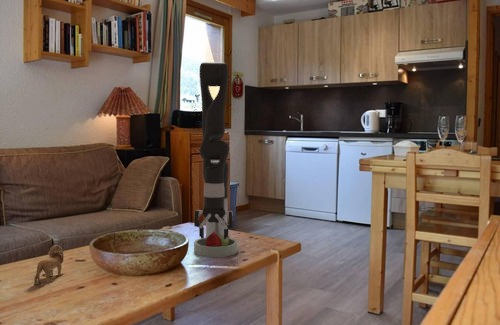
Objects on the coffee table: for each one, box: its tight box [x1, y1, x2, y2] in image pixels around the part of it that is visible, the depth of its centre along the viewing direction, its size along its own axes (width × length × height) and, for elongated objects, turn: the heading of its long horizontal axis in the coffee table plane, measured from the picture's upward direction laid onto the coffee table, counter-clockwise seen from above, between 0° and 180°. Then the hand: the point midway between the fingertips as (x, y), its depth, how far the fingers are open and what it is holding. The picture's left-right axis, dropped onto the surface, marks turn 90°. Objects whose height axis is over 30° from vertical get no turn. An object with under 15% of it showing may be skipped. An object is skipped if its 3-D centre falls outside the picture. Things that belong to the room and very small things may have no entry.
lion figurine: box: [33, 244, 65, 286], centre depth 131 cm, size 15×5×9 cm, turn 4°
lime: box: [220, 236, 229, 246], centre depth 165 cm, size 5×5×5 cm
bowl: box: [193, 236, 239, 258], centre depth 163 cm, size 16×16×4 cm
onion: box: [206, 231, 221, 247], centre depth 160 cm, size 6×6×8 cm
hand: (213, 238), depth 160 cm, fingers open, 8 cm apart
